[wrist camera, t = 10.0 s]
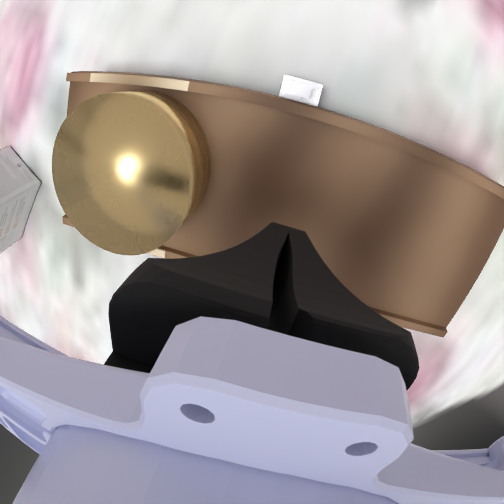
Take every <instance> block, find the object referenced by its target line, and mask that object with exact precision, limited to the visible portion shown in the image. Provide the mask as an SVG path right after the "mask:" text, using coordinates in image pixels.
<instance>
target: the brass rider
mask: <svg viewBox="0 0 504 504" xmlns="http://www.w3.org/2000/svg"><path fill="white" fill-rule="evenodd" d="M52 174H53V181H54V186H55V190H56V193H57V197H58V199H59V202H60V204H61V206H62V208H63V210H64V212H65V214H66V215H67V217H68V218H69V220H70V221H71V223H72V224H73V225H74V226H75V228H76V229H77V230H78V231H79V232H80V233H81V234H82V235H83V236H84V237H85V238H87V239H88V240H89V241H90V242H92V243H93V244H95V245H97V246H98V247H100V248H102V249H104V250H107V251H110V252H112V253H116V254H121V255H139V254H144V253H148V252H150V251H153V250H155V249H157V248H158V247H160V246H162V245H163V244H164V243H165V242H167V241H168V240H169V239H170V238H171V237H172V235H173V234H174V233H175V232H176V231H177V230H178V229H179V228H180V227H181V226H182V225H183V223H184V222H185V221H186V220H187V219H188V218H189V217H190V216H191V215H192V214H193V213H194V212H195V210H196V209H197V208H198V207H199V205H200V204H201V202H202V200H203V198H204V196H205V194H206V191H207V188H208V185H209V180H210V175H211V156H210V150H209V145H208V142H207V139H206V136H205V134H204V132H203V129H202V127H201V125H200V124H199V122H198V121H197V119H196V118H195V116H194V115H193V114H192V113H191V112H190V111H189V109H187V108H186V107H185V106H184V105H183V104H182V103H180V102H179V101H177V100H176V99H174V98H173V97H171V96H168V95H166V94H164V93H160V92H157V91H150V90H136V91H125V92H115V93H106V94H101V95H97V96H94V97H92V98H89V99H87V100H85V101H84V102H82V103H81V104H79V105H78V106H77V107H76V108H75V109H73V110H72V112H71V113H70V114H69V115H68V116H67V118H66V119H65V121H64V122H63V124H62V125H61V128H60V130H59V132H58V134H57V137H56V140H55V144H54V148H53V155H52Z"/></svg>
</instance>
